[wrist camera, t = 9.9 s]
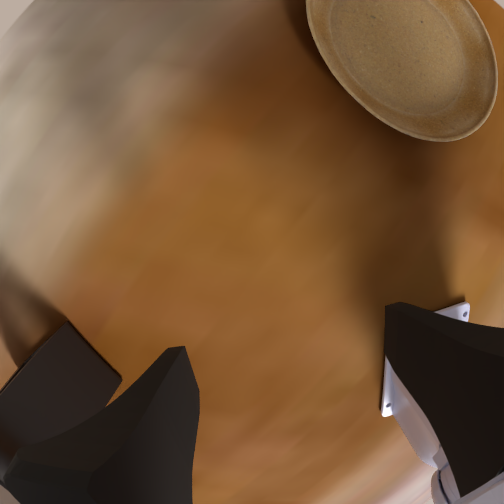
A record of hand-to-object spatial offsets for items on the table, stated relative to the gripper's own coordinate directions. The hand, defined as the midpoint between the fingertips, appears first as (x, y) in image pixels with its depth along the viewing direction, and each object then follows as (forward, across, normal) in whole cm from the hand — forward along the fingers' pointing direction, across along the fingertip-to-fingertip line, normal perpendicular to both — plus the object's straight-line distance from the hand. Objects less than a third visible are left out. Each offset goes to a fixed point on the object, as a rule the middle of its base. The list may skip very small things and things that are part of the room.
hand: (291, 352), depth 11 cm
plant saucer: (+10, -12, -14) cm, 21 cm away
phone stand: (+10, +17, +6) cm, 20 cm away
